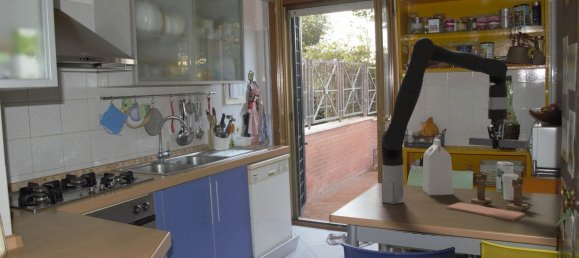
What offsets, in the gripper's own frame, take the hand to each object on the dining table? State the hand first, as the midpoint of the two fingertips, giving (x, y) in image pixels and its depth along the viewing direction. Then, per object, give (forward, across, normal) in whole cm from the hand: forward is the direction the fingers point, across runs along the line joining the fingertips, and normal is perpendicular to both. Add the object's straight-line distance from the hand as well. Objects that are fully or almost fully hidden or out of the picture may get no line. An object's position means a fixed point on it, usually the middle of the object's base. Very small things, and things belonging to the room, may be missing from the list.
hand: (497, 148), depth 203 cm
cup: (+25, -15, -1) cm, 29 cm away
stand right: (+25, -2, +8) cm, 26 cm away
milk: (+25, -7, -33) cm, 42 cm away
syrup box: (+25, -27, -8) cm, 38 cm away
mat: (+25, +13, +1) cm, 28 cm away
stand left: (+25, -2, -8) cm, 26 cm away
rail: (-1, 0, 0) cm, 1 cm away
